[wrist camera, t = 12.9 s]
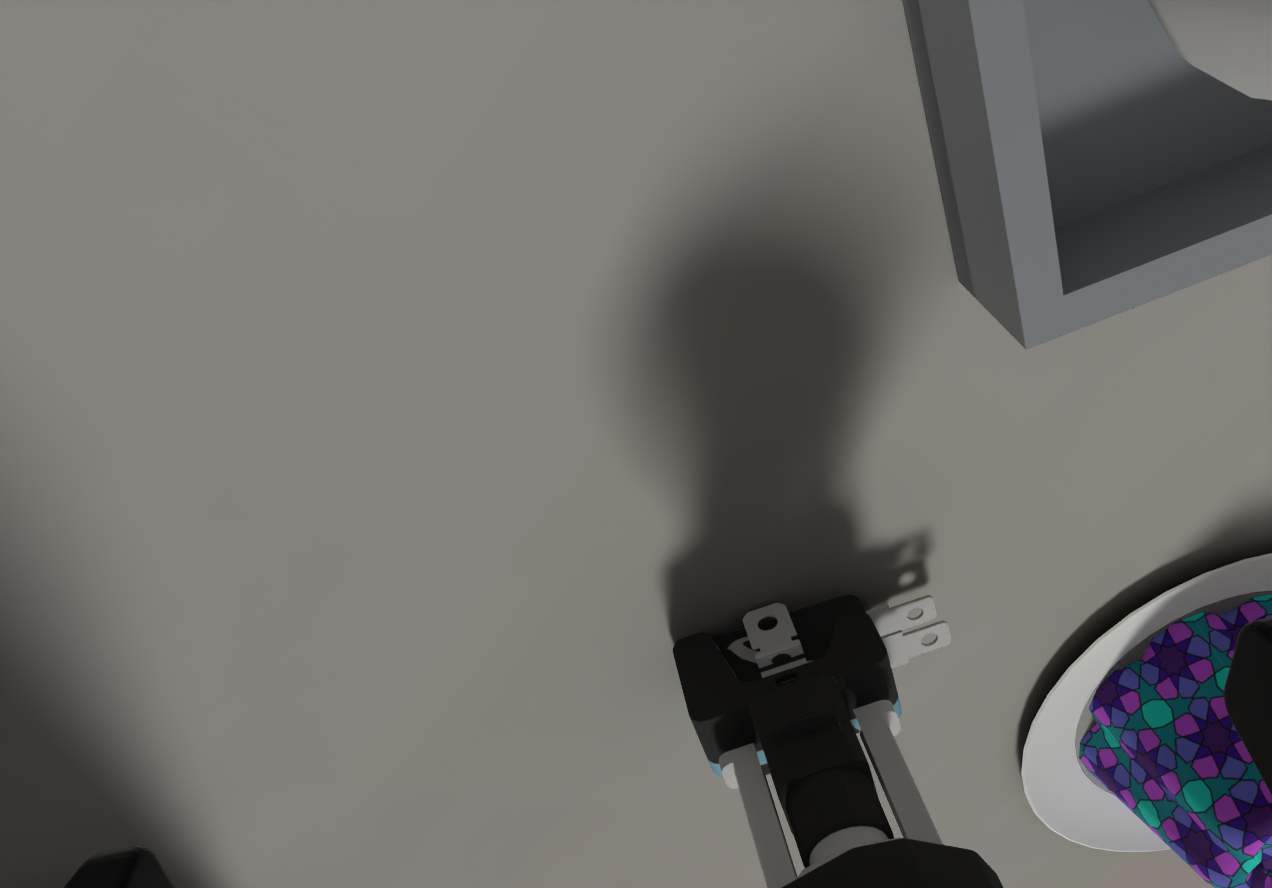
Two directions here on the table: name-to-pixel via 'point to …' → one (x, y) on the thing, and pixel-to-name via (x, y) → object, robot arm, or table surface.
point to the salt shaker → (1223, 39)
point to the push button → (823, 742)
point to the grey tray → (1085, 158)
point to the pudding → (1160, 738)
